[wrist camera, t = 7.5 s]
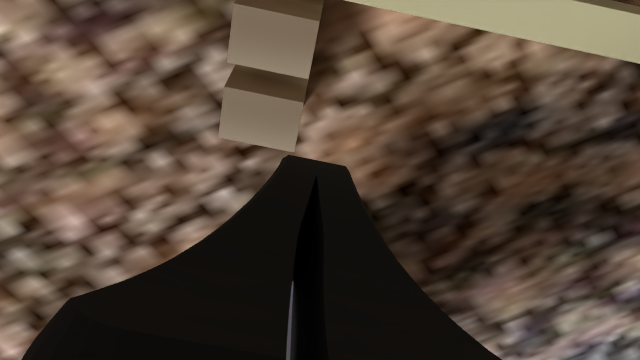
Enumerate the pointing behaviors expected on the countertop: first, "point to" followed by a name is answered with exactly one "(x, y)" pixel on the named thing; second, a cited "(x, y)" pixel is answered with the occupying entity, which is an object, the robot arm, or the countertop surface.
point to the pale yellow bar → (540, 21)
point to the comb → (269, 70)
